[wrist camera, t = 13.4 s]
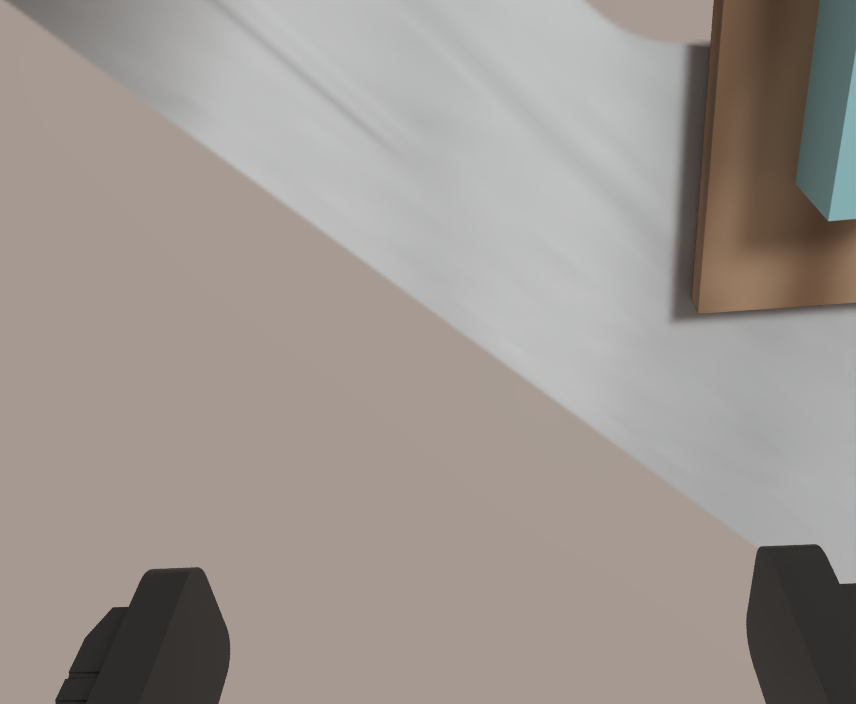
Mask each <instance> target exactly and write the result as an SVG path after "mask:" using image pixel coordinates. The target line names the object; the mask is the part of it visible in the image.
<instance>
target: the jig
mask: <svg viewBox="0 0 856 704" xmlns="http://www.w3.org/2000/svg"><path fill="white" fill-rule="evenodd" d="M819 2H820V0H714V6H713V19H712V33H711V45H710V58H709V72H708V85H707V98H706V111H705V125H704V138H703V151H702V164H701V178H700V191H699V204H698V217H697V231H696V244H695V257H694V270H693V284H692V297H691V299H692V301H693V303H694V306H695V308H696V310H697V312H698V314H701V313H715V312H730V311H744V310H758V309H772V308H786V307H800V306H815V305H829V304H843V303H856V219H848V220H837V221H828V220H827V219H826V218H825V217H824V216H823V215H822V214H821V212H820V211H819V210H818V209H817V208H816V207H815V206H814V204H813V203H812V202H811V201H810V200H809V199H808V198H807V196H806V195H805V194H804V193H803V192H802V191H801V190H800V189H799V187H798V186H797V185H796V184H795V182H796V175H797V167H798V160H799V152H800V145H801V137H802V130H803V122H804V115H805V107H806V100H807V92H808V85H809V77H810V70H811V62H812V55H813V47H814V40H815V32H816V24H817V17H818V9H819Z"/></svg>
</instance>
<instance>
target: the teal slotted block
mask: <svg viewBox="0 0 856 704" xmlns="http://www.w3.org/2000/svg"><path fill="white" fill-rule="evenodd" d="M795 184H796V185H797V186H798V187H799V189H800V190H801V191H802V192H803V193H804V194H805V195H806V196H807V198H808V199H809V200H810V201H811V202H812V203H813V204H814V206H815V207H816V208H817V209H818V210H819V211H820V212H821V214H822V215H823V216H824V217H825V218H826V219H827V220H828V221H837V220H848V219H856V0H820V2H819V9H818V17H817V24H816V32H815V40H814V47H813V55H812V62H811V70H810V77H809V85H808V92H807V100H806V107H805V115H804V122H803V130H802V137H801V145H800V152H799V160H798V167H797V175H796V182H795Z"/></svg>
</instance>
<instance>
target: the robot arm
mask: <svg viewBox="0 0 856 704" xmlns="http://www.w3.org/2000/svg"><path fill="white" fill-rule="evenodd" d="M746 623H747V624H746V625H747V638H748V645H749V650H750V655H751V658H752V662H753V665H754V669H755V671H756V675H757V678H758V681H759V684H760V687H761V690H762V693H763V696H764V699H765V702H766V704H856V583H854V584H839V582H838V579H837V577H836V575H835V573H834V571H833V569H832V567H831V565H830V563H829V560H828V558H827V556H826V554H825V553H824V551H823V550H822V548H821V547H820V546H818V545H816V544H811V545H786V546H761V547H759V549H758V551H757V554H756V560H755V566H754V572H753V579H752V585H751V592H750V598H749V605H748V611H747V621H746ZM229 660H230V640H229V634H228V630H227V627H226V625H225V622H224V620H223V617H222V614H221V612H220V610H219V607H218V604H217V602H216V599H215V597H214V594H213V592H212V589H211V587H210V584H209V582H208V579H207V577H206V575H205V573H204V571H203V570H202V569H201V568H198V567H196V568H169V569H151V570H149V571H147V572H146V573H145V574H144V576H143V577H142V579H141V581H140V583H139V585H138V588H137V590H136V592H135V594H134V596H133V598H132V601H131V603H130V605H129V607H114V608H112V609H111V610H110V611H109V612H108V614H107V615H106V616H105V617H104V618H103V619H102V620H101V621H100V622H99V623H98V624H97V625H96V627H95V628H94V629H93V630H92V631H91V632H90V633H89V634H88V635H87V637H86V638H85V639H84V641H83V644H82V646H81V648H80V650H79V652H78V654H77V656H76V658H75V660H74V662H73V664H72V667H71V668H70V671H69V678H68V679H65V681H64V683H63V685H62V687H61V689H60V691H59V694H58V695H57V698H56V700H55V701H56V704H218V703H219V700H220V696H221V693H222V689H223V686H224V683H225V679H226V676H227V672H228V667H229Z"/></svg>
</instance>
